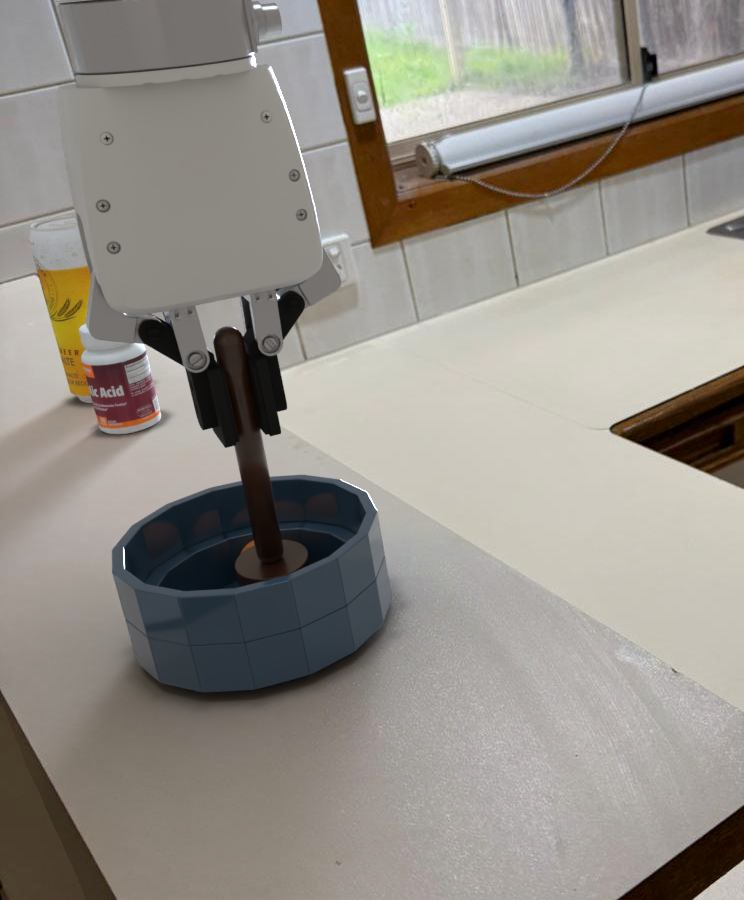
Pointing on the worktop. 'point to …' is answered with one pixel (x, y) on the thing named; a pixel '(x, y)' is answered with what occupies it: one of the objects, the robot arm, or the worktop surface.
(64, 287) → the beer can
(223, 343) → the wooden tamper
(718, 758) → the worktop surface
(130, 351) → the pill bottle
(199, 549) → the bowl
